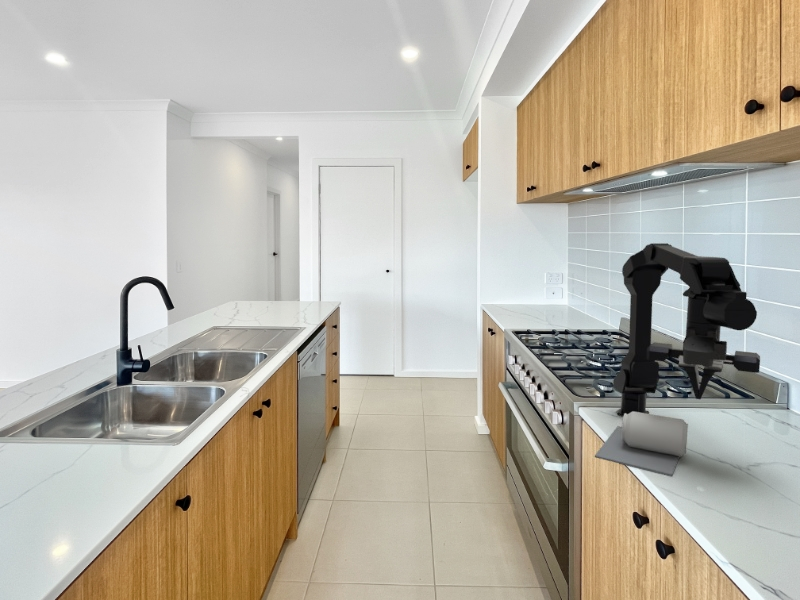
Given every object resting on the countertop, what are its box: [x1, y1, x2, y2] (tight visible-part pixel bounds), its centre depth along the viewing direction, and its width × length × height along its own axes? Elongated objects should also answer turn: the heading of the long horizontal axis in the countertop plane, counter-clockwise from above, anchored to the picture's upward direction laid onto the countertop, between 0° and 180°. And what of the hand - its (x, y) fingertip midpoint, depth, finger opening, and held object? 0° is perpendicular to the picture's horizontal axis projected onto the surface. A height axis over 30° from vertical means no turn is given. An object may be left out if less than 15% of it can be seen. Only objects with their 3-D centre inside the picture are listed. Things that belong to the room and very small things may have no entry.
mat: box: [594, 425, 680, 477], centre depth 103 cm, size 20×14×1 cm
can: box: [621, 411, 689, 458], centre depth 102 cm, size 8×8×12 cm
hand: (698, 398), depth 97 cm, fingers closed
